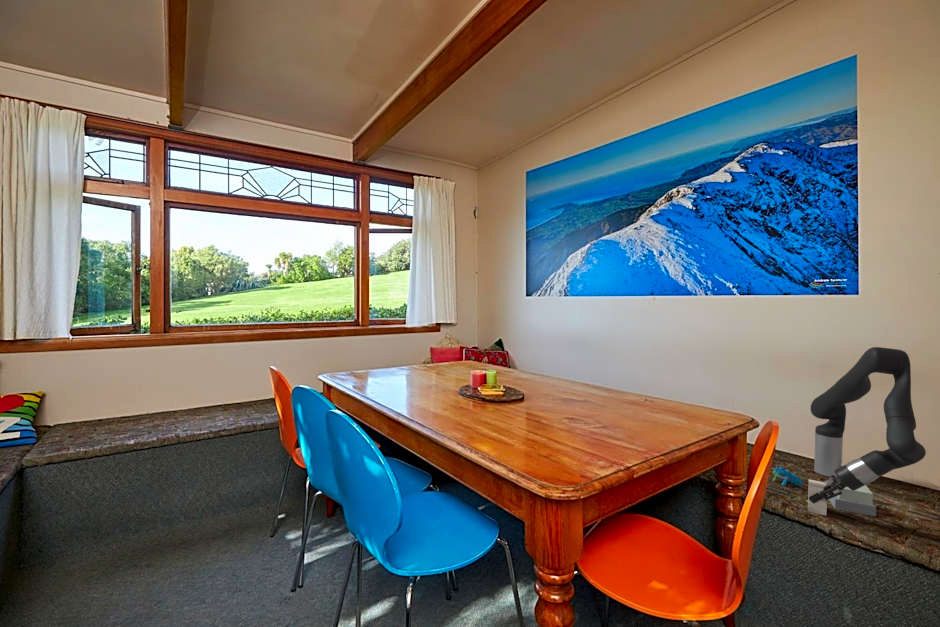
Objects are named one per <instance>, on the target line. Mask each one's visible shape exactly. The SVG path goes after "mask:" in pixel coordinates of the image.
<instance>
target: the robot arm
mask: <svg viewBox="0 0 940 627" xmlns="http://www.w3.org/2000/svg"><path fill="white" fill-rule="evenodd" d="M910 360H911V359H910V357H909V355H908V353H907V352H906V351H904V350H901V349H895V348H888V347H879V346H873V347H871V348H868V349H867V350H865V352H864V353H863V354H862V355H861V357H860V358H859V359H858V361H857V362H856V363H855V364H854V365H853V366H852V367H851V368H850V369H849V370H848V371H847V373H845V374H844V375H843V376H841V377H840V378H839V380H837V381H836V382H835V383H834V384H833V385H832V386H831V387H830V388H828V389H827V390H826V391H824V392H823V393H821V394H820V395H818V396H816V398H814V399H813V400H812V402H811V404H810V413H811V414H812V416H813V417H815V418H816V419H819V420H828V421H827V422H825V423H822V424H819V425H816V426H815V427H814V428H815V429H814V430H815V432H814V434H815V435H814V463H813V466H814V467H813V472H815V473H817V474H819V475H821V476H825V477H827V478H826V479H824V480H822V481H821V482H823V483H825V484H826V483H827V484H826V485H825V486H824V487H823V490H821V491H819V492H818V493H816V494H814V495H812V496H810V497H809V500H810V501H811V502H812V503H816V502H818V501H820V500H822V499H825V500H827V501H829V499H831V498H833V497H836V496H838V495H841V494H842V491H843V489H844V488H845V487H849V488H850V489H851V490H857V489H859V488H861V487H863V486H864V485H866V486H867V485H868V484H870V483H872V482H874V481H876V480H878V478H881V477H882V476H885V475H886V474H888V473H889V472H892V471H893V470H896V469H902V468H905V467H908V466H912V465H915V464H917V463H919V462H921V461H922V460H923V459H924V458H925V457H926V451H927V450H926V449H925V446H923V444H922V443H920V442H918V441H917V440H916V437H915V432H914V430H916V429H917V422H916V418H915V413H914V408H913V404H912V387H911V386H912V377H911V374H912V372H911V361H910ZM874 373H876V374H877V373H878V374H885V375H886V374H887V375H892V376H893V378H894V385H893V387H892V388H891V390H890V391H889V393H888V395H887V396H886V398H885V399H884V402H883V412H884V417H885V422H886V434H885V437H886V445H887V447H888V449H885V450H872V451H870V452H868V453H866V454H863V455H862V456H860V457H858V458H856V459H853V460H852V461H849V462H847V463H846V464H843V444H844V440H843V439H844V437H843V436H844V433H845V427H846V418H847V407H846V405H847V404H850V403H854V402H857V401H858V400H860V399H863V397H864V396H865V395H867V394H868V393H869V392H870V391H871V388H872V383H871V382H872V381H871V380H870V377H869V376H870V375H871V374H874ZM825 493H828V494H827V495H825Z"/></svg>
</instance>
